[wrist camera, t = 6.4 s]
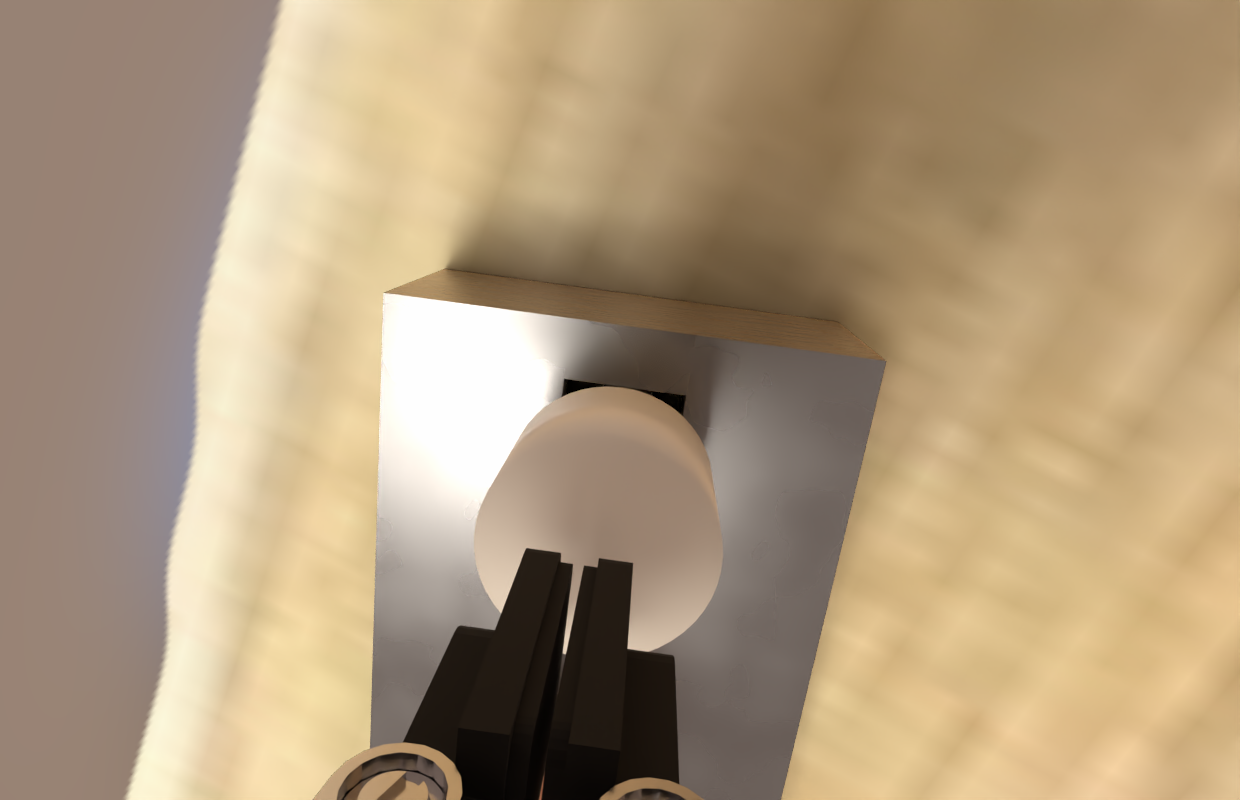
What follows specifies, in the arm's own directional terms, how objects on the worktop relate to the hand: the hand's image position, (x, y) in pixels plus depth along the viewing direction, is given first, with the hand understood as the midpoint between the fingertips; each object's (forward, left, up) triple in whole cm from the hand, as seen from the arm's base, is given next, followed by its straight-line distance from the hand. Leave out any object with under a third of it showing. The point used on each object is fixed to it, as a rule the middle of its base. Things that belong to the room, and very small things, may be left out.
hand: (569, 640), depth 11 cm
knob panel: (+8, 0, -12) cm, 15 cm away
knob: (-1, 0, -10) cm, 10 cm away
